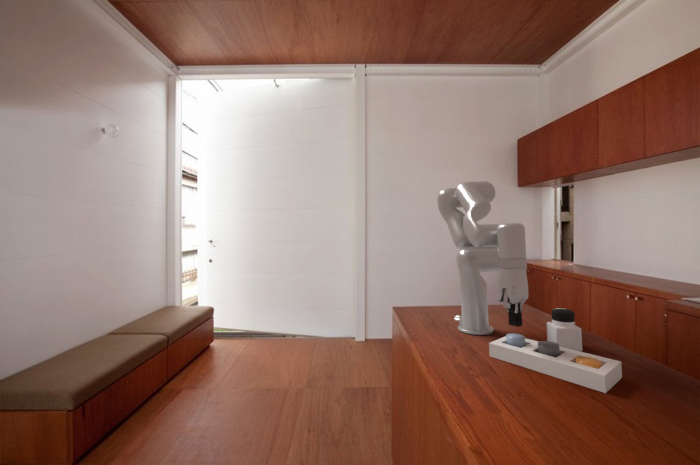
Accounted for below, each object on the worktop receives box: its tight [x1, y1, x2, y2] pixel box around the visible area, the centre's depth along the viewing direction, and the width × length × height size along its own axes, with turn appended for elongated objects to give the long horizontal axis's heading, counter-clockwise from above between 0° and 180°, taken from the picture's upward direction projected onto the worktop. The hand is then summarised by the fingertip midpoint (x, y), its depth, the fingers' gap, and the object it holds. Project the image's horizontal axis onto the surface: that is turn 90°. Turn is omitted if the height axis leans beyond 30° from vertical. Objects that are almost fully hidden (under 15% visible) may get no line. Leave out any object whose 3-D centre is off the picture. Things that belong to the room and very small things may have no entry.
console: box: [488, 335, 623, 394], centre depth 84 cm, size 28×12×4 cm, turn 35°
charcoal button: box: [538, 340, 560, 357], centre depth 84 cm, size 5×5×4 cm
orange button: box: [576, 356, 601, 369], centre depth 77 cm, size 5×5×4 cm
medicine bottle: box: [546, 307, 583, 352], centre depth 97 cm, size 7×7×12 cm
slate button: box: [505, 332, 526, 348], centre depth 92 cm, size 5×5×4 cm
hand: (515, 325), depth 92 cm, fingers closed
